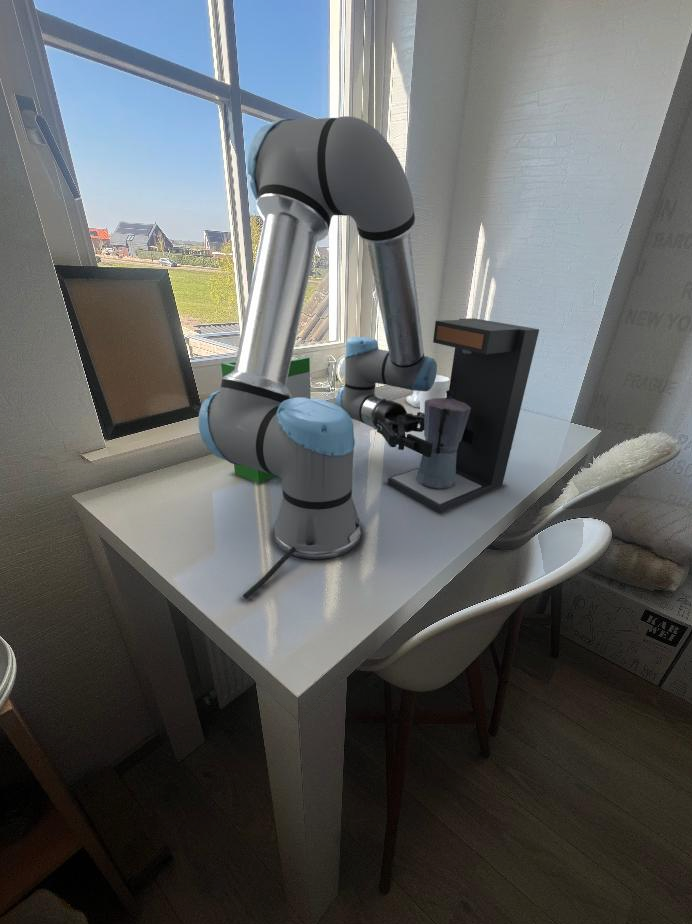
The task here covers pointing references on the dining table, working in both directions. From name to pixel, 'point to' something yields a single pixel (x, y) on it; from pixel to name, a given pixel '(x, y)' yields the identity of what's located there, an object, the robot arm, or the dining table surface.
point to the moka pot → (442, 440)
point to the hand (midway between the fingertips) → (453, 444)
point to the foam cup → (434, 391)
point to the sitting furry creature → (414, 399)
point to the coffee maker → (480, 406)
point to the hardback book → (298, 388)
